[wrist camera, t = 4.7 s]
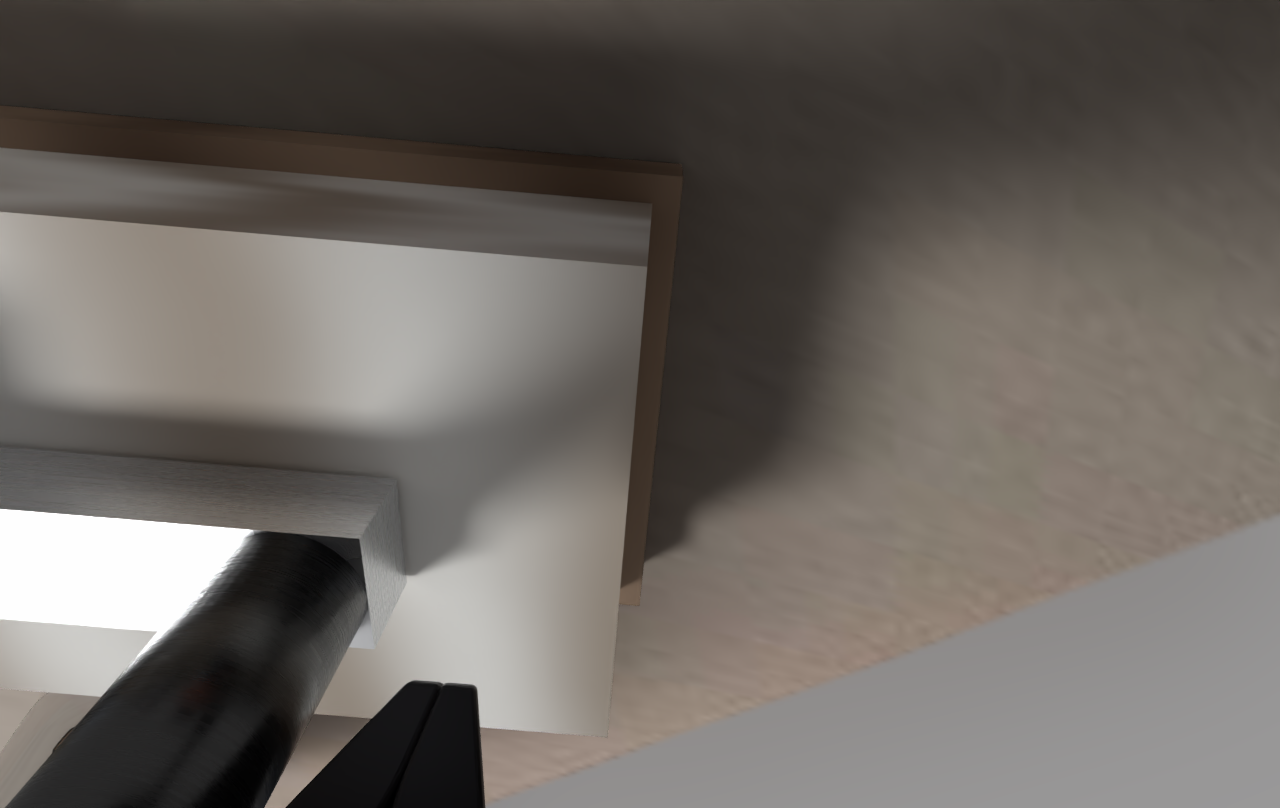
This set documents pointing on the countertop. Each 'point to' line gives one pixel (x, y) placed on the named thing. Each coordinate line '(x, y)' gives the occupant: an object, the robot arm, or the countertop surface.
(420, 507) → the door model
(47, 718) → the beer glass
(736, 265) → the countertop surface
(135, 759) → the bolt
